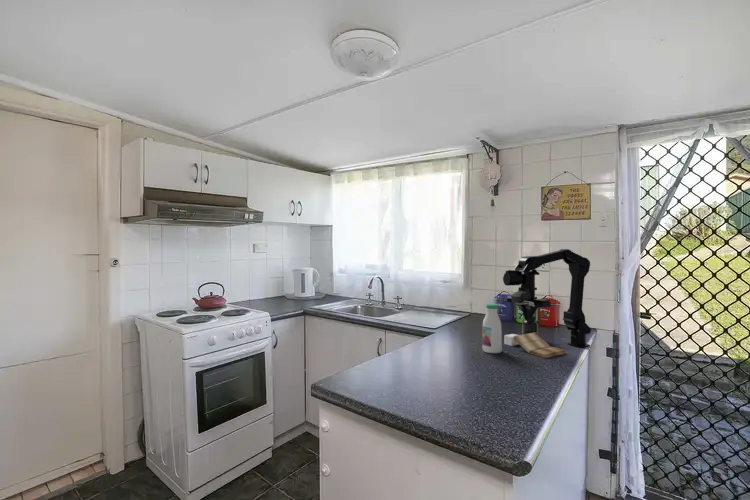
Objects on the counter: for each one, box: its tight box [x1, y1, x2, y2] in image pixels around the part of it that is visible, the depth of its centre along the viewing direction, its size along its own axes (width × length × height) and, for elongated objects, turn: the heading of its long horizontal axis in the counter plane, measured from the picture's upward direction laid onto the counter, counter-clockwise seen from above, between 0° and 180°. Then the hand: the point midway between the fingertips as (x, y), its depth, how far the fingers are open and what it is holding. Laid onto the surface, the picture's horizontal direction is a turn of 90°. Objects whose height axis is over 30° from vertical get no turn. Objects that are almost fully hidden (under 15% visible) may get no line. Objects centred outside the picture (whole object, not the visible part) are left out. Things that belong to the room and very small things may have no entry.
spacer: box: [503, 333, 519, 347], centre depth 162 cm, size 6×4×4 cm, turn 119°
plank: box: [513, 333, 551, 354], centre depth 153 cm, size 13×9×2 cm
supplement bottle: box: [521, 314, 539, 336], centre depth 167 cm, size 7×7×12 cm
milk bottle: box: [482, 303, 503, 354], centre depth 150 cm, size 8×8×20 cm
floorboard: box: [529, 346, 566, 359], centre depth 146 cm, size 13×7×2 cm, turn 118°
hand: (527, 320), depth 155 cm, fingers closed
